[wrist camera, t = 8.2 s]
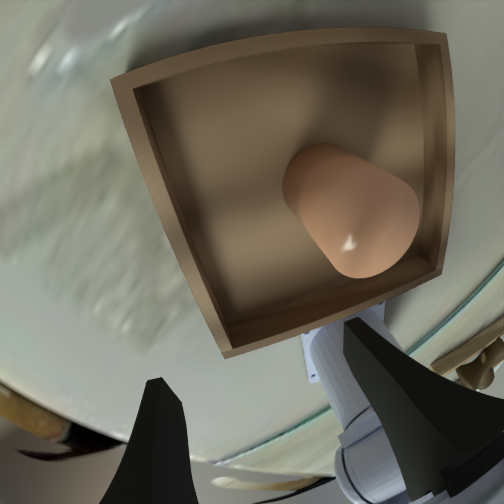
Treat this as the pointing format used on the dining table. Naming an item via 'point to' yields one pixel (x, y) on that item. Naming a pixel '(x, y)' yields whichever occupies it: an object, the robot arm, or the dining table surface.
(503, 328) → the oak frame
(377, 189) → the tan rounded cylinder
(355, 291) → the walnut tray
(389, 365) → the robot arm
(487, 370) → the kendama
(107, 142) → the dining table surface
